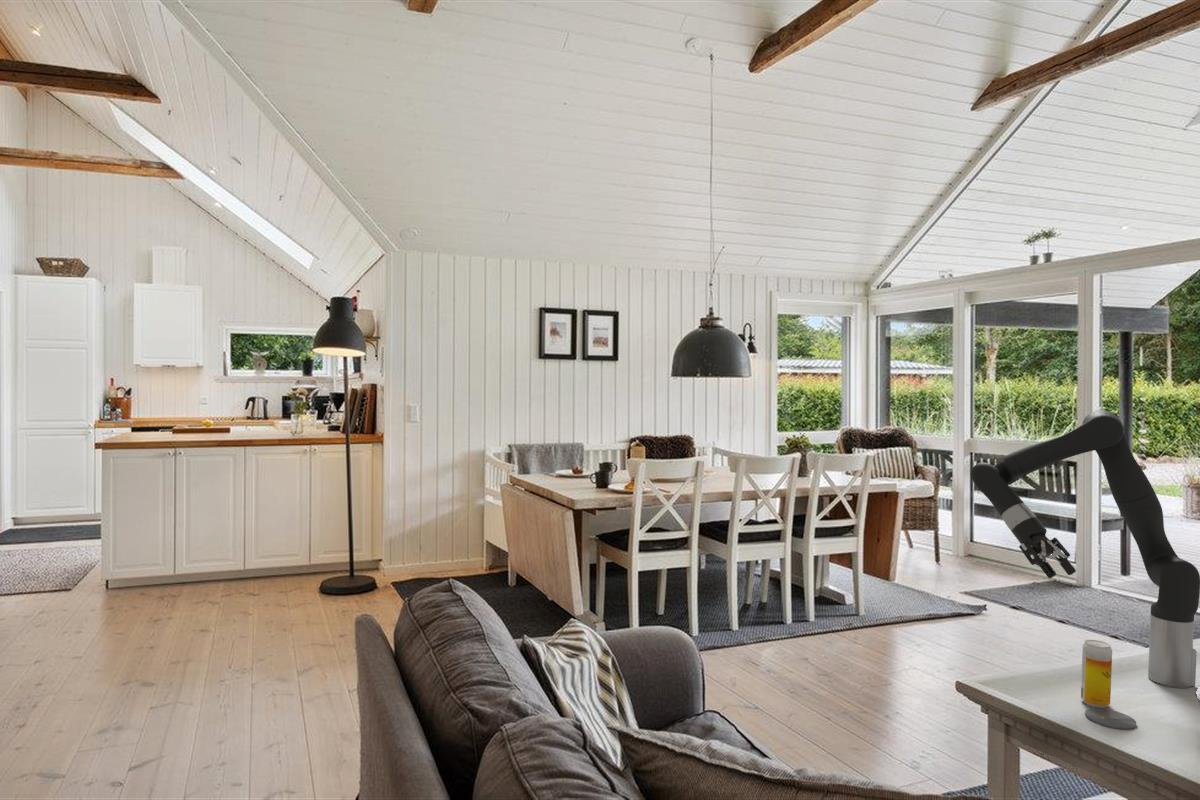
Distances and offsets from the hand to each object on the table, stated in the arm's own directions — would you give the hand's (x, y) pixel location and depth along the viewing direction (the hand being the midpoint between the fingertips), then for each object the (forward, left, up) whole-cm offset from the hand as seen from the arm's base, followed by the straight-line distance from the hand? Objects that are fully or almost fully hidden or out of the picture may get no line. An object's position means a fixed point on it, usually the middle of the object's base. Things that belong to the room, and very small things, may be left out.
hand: (1063, 574), depth 200 cm
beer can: (-1, +14, -28) cm, 32 cm away
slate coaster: (+1, +23, -28) cm, 37 cm away
